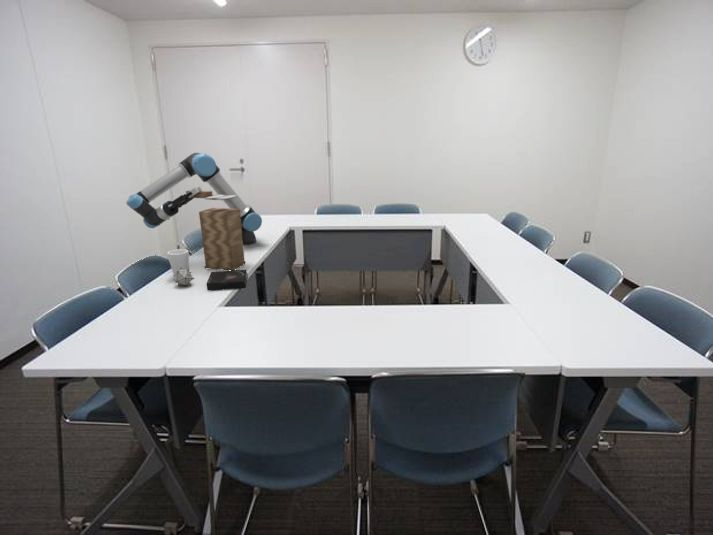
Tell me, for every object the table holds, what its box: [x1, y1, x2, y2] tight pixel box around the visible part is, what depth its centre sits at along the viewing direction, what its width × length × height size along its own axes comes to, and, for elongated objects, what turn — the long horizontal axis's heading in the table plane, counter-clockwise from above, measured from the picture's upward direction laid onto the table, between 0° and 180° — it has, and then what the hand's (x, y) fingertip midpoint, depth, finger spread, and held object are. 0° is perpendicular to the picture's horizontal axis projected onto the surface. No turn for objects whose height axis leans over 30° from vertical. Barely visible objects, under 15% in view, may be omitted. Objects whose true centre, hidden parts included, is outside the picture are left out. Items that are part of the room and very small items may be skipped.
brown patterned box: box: [198, 207, 247, 271], centre depth 210 cm, size 17×13×30 cm
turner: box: [185, 190, 238, 201], centre depth 204 cm, size 25×10×3 cm, turn 77°
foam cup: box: [167, 248, 190, 277], centre depth 196 cm, size 10×9×13 cm
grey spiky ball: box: [172, 268, 195, 288], centre depth 187 cm, size 9×8×10 cm
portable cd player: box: [206, 269, 248, 291], centre depth 190 cm, size 16×17×4 cm
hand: (199, 189), depth 204 cm, fingers closed on turner, 3 cm apart
